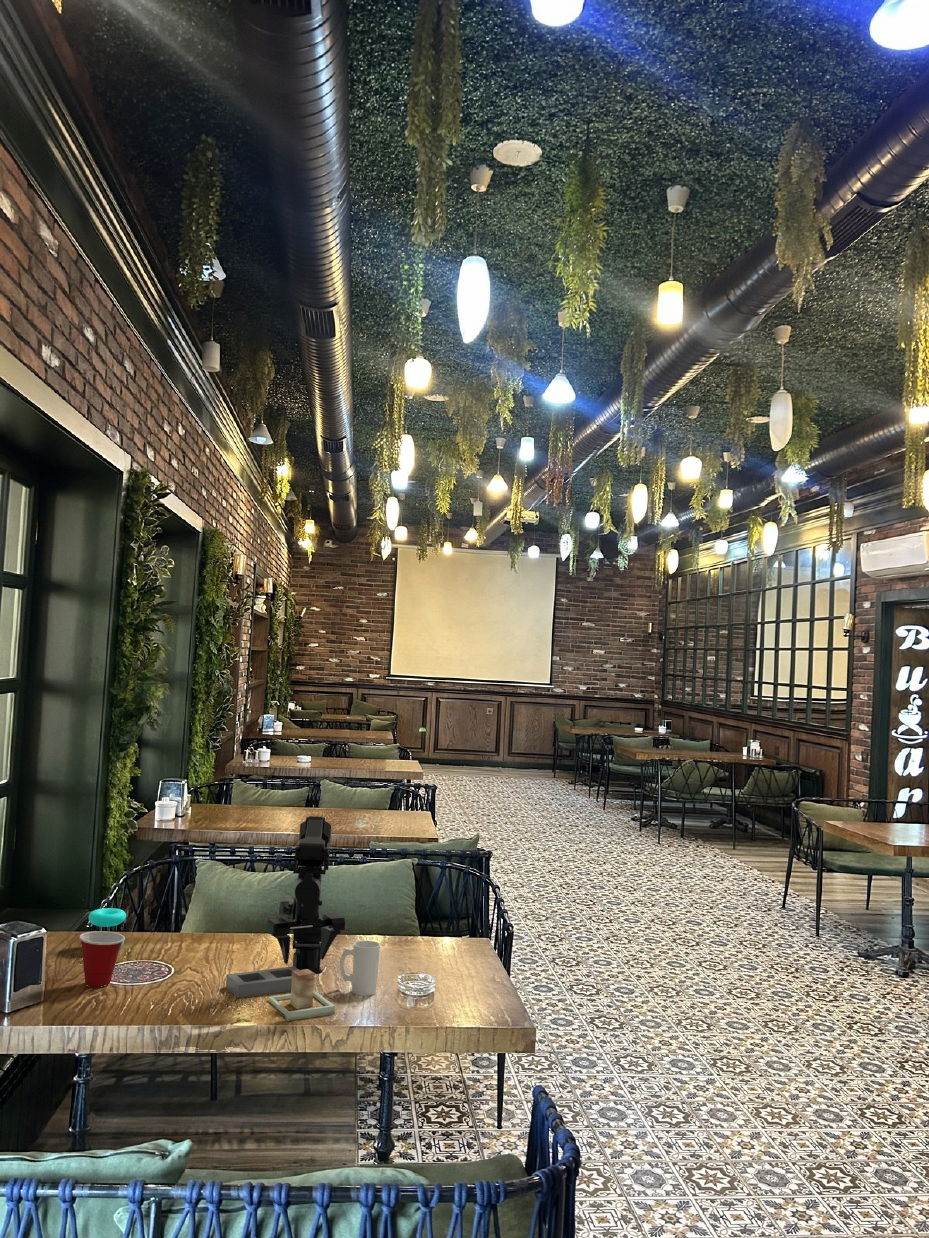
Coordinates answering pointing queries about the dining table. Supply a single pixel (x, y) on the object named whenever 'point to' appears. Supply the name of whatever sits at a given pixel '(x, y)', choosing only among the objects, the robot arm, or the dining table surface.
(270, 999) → the tray
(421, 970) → the dining table surface
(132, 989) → the dining table surface
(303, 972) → the plug
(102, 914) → the donuts
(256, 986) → the grey cinder block
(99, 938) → the plastic cup
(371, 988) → the mug
